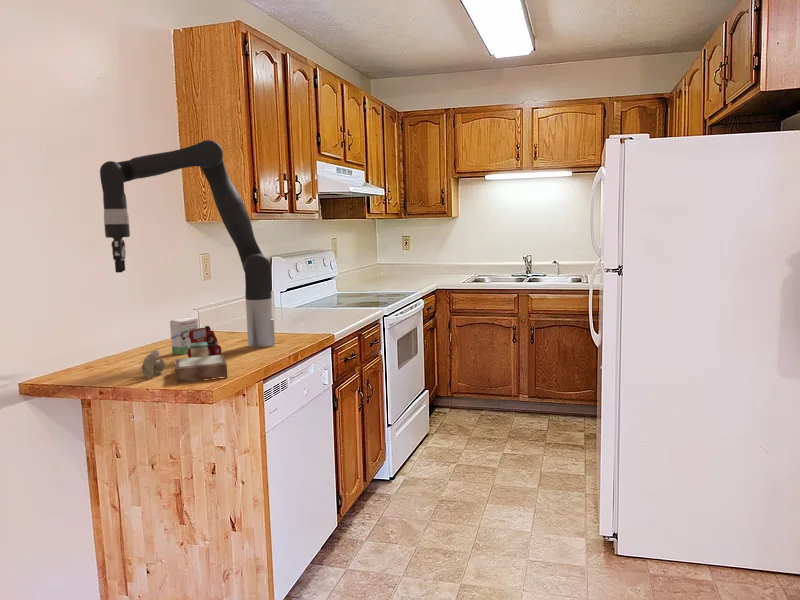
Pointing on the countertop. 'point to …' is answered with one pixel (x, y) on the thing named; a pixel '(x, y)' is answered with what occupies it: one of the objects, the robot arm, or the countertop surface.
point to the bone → (152, 365)
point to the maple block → (199, 349)
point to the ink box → (182, 334)
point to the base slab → (200, 368)
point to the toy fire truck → (205, 340)
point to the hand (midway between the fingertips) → (120, 271)
